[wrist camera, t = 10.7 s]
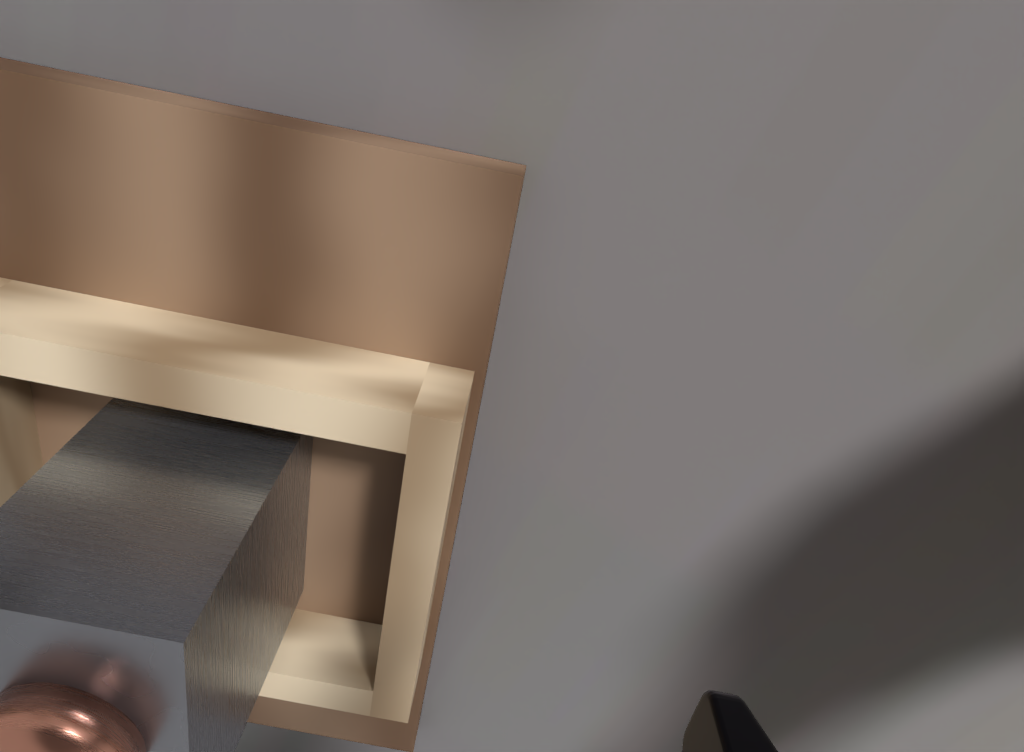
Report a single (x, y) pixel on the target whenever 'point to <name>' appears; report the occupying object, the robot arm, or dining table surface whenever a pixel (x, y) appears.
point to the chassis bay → (265, 339)
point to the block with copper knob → (149, 582)
